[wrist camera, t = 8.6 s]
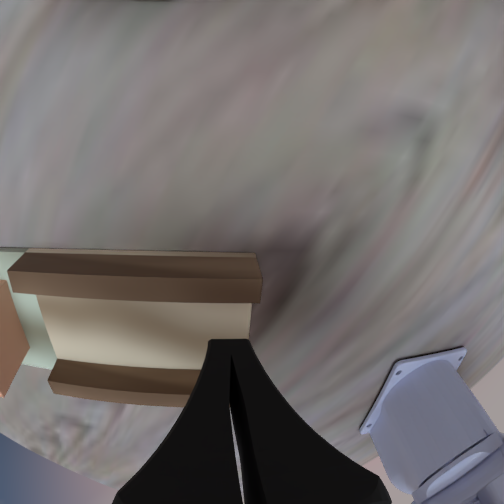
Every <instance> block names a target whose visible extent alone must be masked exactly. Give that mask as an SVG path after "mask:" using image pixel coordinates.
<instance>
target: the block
mask: <svg viewBox="0 0 504 504" xmlns="http://www.w3.org/2000/svg"><path fill="white" fill-rule="evenodd" d="M29 349H30V346H29V343H28V341H27V338H26V336H25V333H24V331H23V328H22V325H21V323H20V320H19V317H18V314H17V311H16V308H15V305H14V302H13V299H12V296H11V293H10V290H9V286H8V283H7V280H0V397H3V398H4V397H5V395H6V393H7V391H8V389H9V387H10V385H11V383H12V381H13V379H14V377H15V375H16V373H17V371H18V369H19V367H20V365H21V363H22V361H23V360H24V358H25V356H26V354H27V352H28V350H29Z"/></svg>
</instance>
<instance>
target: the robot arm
mask: <svg viewBox="0 0 504 504" xmlns="http://www.w3.org/2000/svg"><path fill="white" fill-rule="evenodd" d="M466 353H467V349H466V348H465V347H462V348H458V349H454V350H449V351H445V352H440V353H436V354H431V355H426V356H421V357H416V358H411V359H405V360H400V361H398V362H397V363H395V365H394V367H393V369H392V371H391V373H390V375H389V377H388V379H387V381H386V383H385V385H384V387H383V389H382V390H381V392H380V394H379V396H378V398H377V400H376V402H375V404H374V405H373V407H372V409H371V411H370V412H369V414H368V416H367V418H366V419H365V421H364V423H363V425H362V426H361V428H360V430H359V431H360V434H367V433H370V436H371V438H372V440H373V442H374V445H375V447H376V449H377V452H378V454H379V456H380V458H381V461H382V463H383V466H384V468H385V471H386V473H387V475H388V477H389V479H390V481H391V483H392V484H393V485H394V486H395V487H396V488H397V489H399V490H400V491H402V492H404V493H407V494H412V496H413V498H414V501H413V502H412V503H411V504H504V434H503V433H501V432H499V431H498V429H497V428H496V426H495V425H494V423H493V422H492V420H491V419H490V417H489V416H488V414H487V413H486V411H485V410H484V409H483V407H482V406H481V404H480V403H479V402H478V400H477V399H476V397H475V396H474V394H473V393H472V392H471V390H470V389H469V387H468V386H467V385H466V383H465V382H464V381H463V379H462V378H461V377H460V375H459V374H458V372H457V371H456V370H457V369H458V367H459V365H460V364H461V362H462V360H463V358H464V357H465V355H466ZM229 403H230V405H229ZM230 409H231V414H232V420H233V425H234V430H235V436H236V441H237V446H238V451H239V456H240V463H241V471H242V481H243V492H244V502H245V504H391V503H392V501H391V498H390V496H389V493H388V491H387V489H386V487H385V486H384V484H383V482H382V480H381V479H380V477H379V476H378V475H376V474H374V473H372V472H370V471H369V470H367V469H365V468H364V467H362V466H360V465H359V464H357V463H356V462H354V461H352V460H351V459H349V458H348V457H347V456H345V455H344V454H342V453H341V452H339V451H338V450H337V449H336V448H334V447H333V446H332V445H331V444H329V443H328V442H327V441H326V440H325V439H323V438H322V437H321V436H320V435H319V434H317V433H316V432H315V431H314V430H313V429H312V428H311V427H310V426H309V425H308V424H307V423H306V422H305V421H304V420H303V419H302V418H301V417H300V416H299V415H298V414H297V413H296V412H295V411H294V409H293V408H292V407H291V406H290V405H289V403H288V402H287V401H286V400H285V398H284V397H283V396H282V395H281V393H280V392H279V391H278V389H277V388H276V387H275V385H274V384H273V382H272V381H271V379H270V378H269V376H268V375H267V373H266V372H265V370H264V368H263V367H262V365H261V363H260V361H259V360H258V358H257V356H256V354H255V352H254V350H253V348H252V346H251V343H250V341H249V340H248V339H211V340H209V341H208V347H207V352H206V356H205V360H204V363H203V366H202V369H201V371H200V374H199V376H198V379H197V382H196V384H195V386H194V388H193V391H192V393H191V395H190V397H189V399H188V401H187V403H186V405H185V407H184V409H183V410H182V412H181V414H180V416H179V417H178V419H177V421H176V422H175V424H174V426H173V427H172V429H171V430H170V432H169V433H168V435H167V436H166V437H165V439H164V440H163V442H162V443H161V444H160V446H159V447H158V448H157V450H156V451H155V452H154V453H153V455H152V456H151V457H150V458H149V459H148V461H147V462H146V463H145V464H144V465H143V466H142V468H141V469H140V470H139V471H138V472H137V473H136V474H135V475H134V476H133V477H132V478H131V479H130V480H129V481H128V482H127V483H126V484H125V485H124V486H123V487H122V488H121V489H120V490H119V491H118V492H117V494H116V496H115V498H114V500H113V503H112V504H243V502H242V496H241V490H240V484H239V478H238V471H237V465H236V458H235V450H234V443H233V435H232V426H231V417H230Z"/></svg>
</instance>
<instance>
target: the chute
mask: <svg viewBox="0 0 504 504" xmlns="http://www.w3.org/2000/svg"><path fill="white" fill-rule="evenodd" d="M0 280H7V283H8V286H9V290H10V293H11V296H12V299H13V302H14V305H15V308H16V311H17V314H18V317H19V320H20V323H21V325H22V328H23V331H24V333H25V336H26V338H27V341H28V343H29V346H30V349H29V350H28V352H27V354H26V356H25V358H24V360H23V361H22V363H21V364H24V365H29V366H34V367H39V368H45V369H51V370H52V371H51V374H50V376H49V378H48V383H49V385H50V387H51V389H52V391H53V393H55V394H60V395H66V396H72V397H78V398H84V399H91V400H99V401H107V402H116V403H125V404H136V405H150V406H167V407H185V405H186V403H187V401H188V399H189V397H190V395H191V393H192V391H193V388H194V386H195V384H196V382H197V379H198V376H199V374H200V371H201V369H202V366H203V363H204V360H205V356H206V352H207V347H208V341H209V340H211V339H249V328H250V318H251V308H252V303H260V300H261V291H262V282H263V278H262V275H261V271H260V268H259V265H258V261H257V258H256V255H255V253H233V252H184V251H135V250H88V249H41V248H0ZM229 405H230V403H229Z"/></svg>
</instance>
